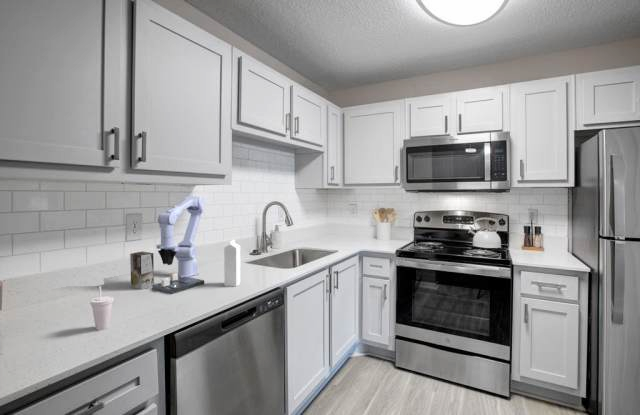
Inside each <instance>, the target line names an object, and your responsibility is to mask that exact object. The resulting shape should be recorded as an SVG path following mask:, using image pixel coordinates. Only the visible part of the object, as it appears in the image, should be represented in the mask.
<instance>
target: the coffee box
mask: <svg viewBox="0 0 640 415" xmlns="http://www.w3.org/2000/svg"><path fill="white" fill-rule="evenodd" d="M129 256H130V257H129V258H130V260H129V261H130V287H132V288H134V289H139V290H145V289H148V288H152V285H154V284H155V282H154V281H155V280H154V279H155V277H154V276H155V275H154V269H155V268H154V265H155V264H154V262H155V261H154V253H153V252H148V251H136V252H133V253H130V254H129Z"/></svg>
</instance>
